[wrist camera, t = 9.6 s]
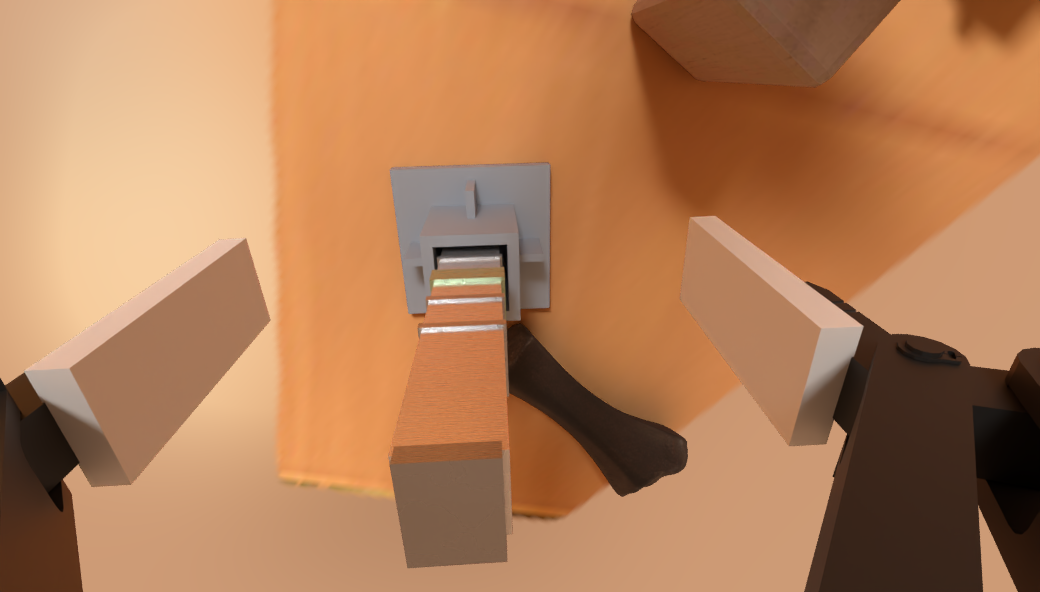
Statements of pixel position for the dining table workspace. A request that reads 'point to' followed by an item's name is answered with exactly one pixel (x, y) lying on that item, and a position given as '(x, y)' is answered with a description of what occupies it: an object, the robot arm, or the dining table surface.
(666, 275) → the dining table surface
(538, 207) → the stand base
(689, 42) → the wooden block
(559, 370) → the dark brown bone
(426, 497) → the column
